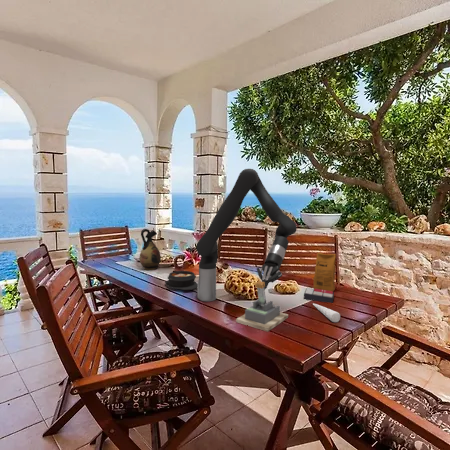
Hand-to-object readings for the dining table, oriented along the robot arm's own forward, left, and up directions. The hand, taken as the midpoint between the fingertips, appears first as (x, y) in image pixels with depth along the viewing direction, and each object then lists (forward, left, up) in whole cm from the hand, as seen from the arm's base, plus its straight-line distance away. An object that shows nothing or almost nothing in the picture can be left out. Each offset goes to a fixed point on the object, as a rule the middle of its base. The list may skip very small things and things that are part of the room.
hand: (262, 288), depth 144 cm
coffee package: (+6, +63, -15) cm, 65 cm away
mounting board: (0, +1, -15) cm, 15 cm away
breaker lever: (0, +1, -8) cm, 8 cm away
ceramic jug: (-115, +33, -15) cm, 121 cm away
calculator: (+9, +46, -15) cm, 49 cm away
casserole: (-64, +15, -15) cm, 68 cm away
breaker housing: (0, +1, -13) cm, 13 cm away
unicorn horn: (+19, +26, -15) cm, 35 cm away
